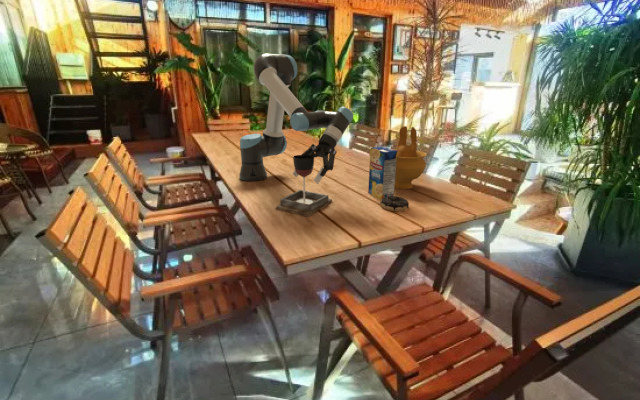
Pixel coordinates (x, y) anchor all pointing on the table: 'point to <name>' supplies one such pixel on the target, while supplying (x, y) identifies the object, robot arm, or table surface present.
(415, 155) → the decorative bowl
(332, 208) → the table surface
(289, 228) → the table surface
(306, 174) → the wineglass
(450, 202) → the table surface
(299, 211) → the tray
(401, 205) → the donut
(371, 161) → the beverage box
